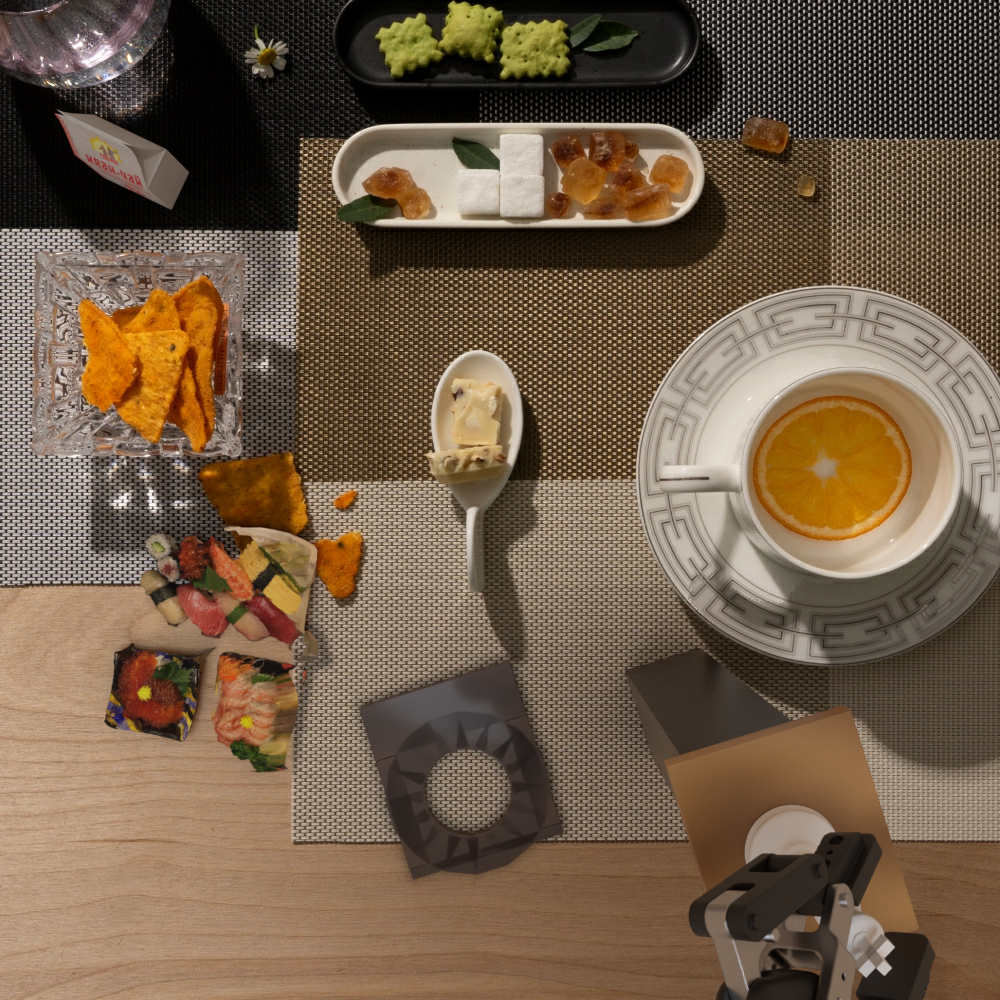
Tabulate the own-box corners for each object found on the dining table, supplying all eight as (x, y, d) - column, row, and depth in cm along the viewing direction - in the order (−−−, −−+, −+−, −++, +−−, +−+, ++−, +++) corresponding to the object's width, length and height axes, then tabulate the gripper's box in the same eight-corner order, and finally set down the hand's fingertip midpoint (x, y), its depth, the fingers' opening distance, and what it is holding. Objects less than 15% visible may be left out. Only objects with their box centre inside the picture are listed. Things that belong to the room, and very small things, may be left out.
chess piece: (724, 853, 41) (795, 970, 31) (789, 784, 40) (881, 879, 30) (794, 918, 41) (887, 1056, 31) (859, 849, 40) (973, 965, 30)
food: (153, 501, 71) (134, 501, 67) (353, 543, 71) (345, 545, 67) (104, 737, 71) (83, 749, 68) (304, 779, 71) (293, 794, 67)
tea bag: (128, 146, 71) (65, 89, 61) (194, 178, 71) (143, 126, 61) (111, 183, 71) (45, 131, 61) (177, 214, 71) (123, 168, 61)
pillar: (722, 728, 70) (872, 891, 41) (648, 751, 71) (746, 930, 42) (696, 644, 70) (827, 748, 41) (622, 667, 71) (701, 787, 42)
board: (568, 836, 71) (570, 846, 69) (417, 882, 71) (414, 894, 69) (511, 655, 71) (511, 660, 69) (360, 702, 71) (356, 708, 69)
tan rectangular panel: (910, 919, 41) (920, 929, 40) (730, 973, 42) (735, 985, 41) (843, 704, 41) (851, 709, 40) (663, 759, 42) (667, 766, 41)
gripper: (959, 1598, 20) (1053, 1047, 32) (701, 1101, 20) (892, 737, 32) (717, 1438, 25) (875, 1018, 37) (514, 1048, 25) (738, 753, 37)
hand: (882, 890), depth 34 cm, fingers open, 4 cm apart
